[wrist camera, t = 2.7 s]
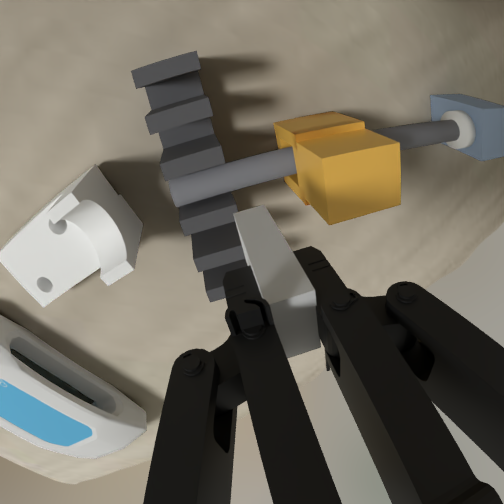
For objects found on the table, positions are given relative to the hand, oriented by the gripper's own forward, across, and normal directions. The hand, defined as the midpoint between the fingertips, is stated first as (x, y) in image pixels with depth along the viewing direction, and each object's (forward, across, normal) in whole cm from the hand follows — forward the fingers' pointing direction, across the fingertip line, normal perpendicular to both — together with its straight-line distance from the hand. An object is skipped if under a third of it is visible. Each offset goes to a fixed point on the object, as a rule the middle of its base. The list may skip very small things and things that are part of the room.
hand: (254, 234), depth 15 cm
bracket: (+14, -16, -1) cm, 21 cm away
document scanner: (+14, -35, -22) cm, 43 cm away
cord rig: (+13, +11, 0) cm, 17 cm away
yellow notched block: (+11, +7, 0) cm, 13 cm away
